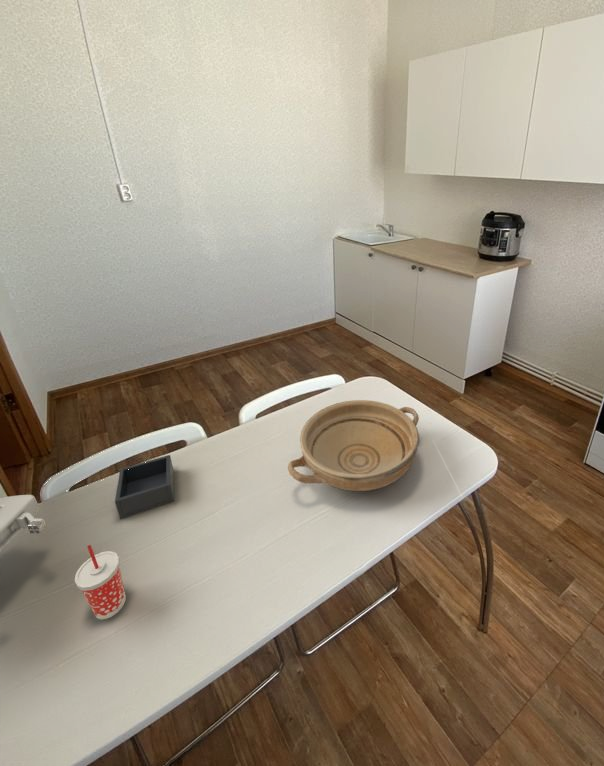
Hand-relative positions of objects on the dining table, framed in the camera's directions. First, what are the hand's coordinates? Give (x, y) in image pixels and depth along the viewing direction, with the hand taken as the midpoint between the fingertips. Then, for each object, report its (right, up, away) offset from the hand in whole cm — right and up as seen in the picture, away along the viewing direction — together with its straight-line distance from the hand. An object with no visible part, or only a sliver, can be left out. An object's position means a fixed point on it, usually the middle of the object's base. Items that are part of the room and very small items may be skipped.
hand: (19, 551), depth 62 cm
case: (+6, -3, +27) cm, 28 cm away
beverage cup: (+12, -12, +4) cm, 18 cm away
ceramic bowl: (+55, 0, +34) cm, 65 cm away
